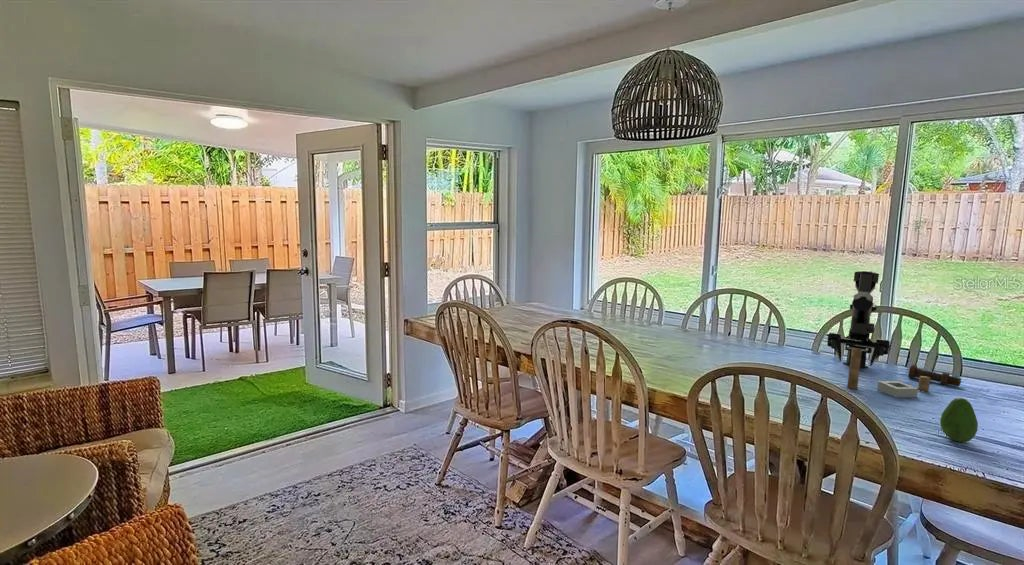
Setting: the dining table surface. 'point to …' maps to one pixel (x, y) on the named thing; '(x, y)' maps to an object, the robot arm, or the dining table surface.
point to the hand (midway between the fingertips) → (855, 362)
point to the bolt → (934, 376)
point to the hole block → (897, 389)
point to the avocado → (959, 420)
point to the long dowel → (854, 368)
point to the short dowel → (924, 383)
